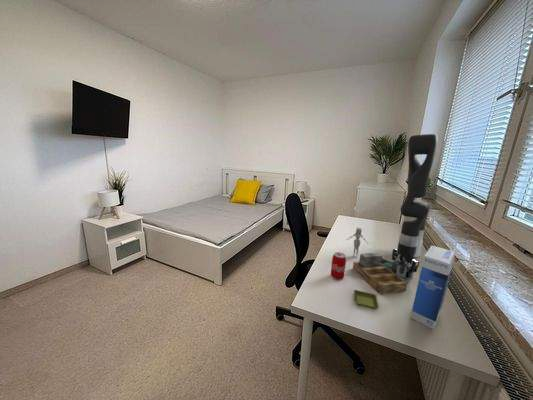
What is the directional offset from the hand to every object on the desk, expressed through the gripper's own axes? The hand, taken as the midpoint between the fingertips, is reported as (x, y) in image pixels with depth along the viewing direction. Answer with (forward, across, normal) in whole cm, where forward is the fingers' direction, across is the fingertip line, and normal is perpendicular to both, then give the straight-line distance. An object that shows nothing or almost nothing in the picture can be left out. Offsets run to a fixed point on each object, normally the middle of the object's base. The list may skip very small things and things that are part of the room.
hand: (401, 273), depth 105 cm
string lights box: (+2, -24, +10) cm, 26 cm away
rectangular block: (+2, 0, 0) cm, 2 cm away
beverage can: (+2, +4, +32) cm, 33 cm away
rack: (+2, 0, +13) cm, 14 cm away
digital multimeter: (+2, +14, +2) cm, 14 cm away
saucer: (+2, -14, +29) cm, 33 cm away
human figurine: (+2, +22, +12) cm, 25 cm away
